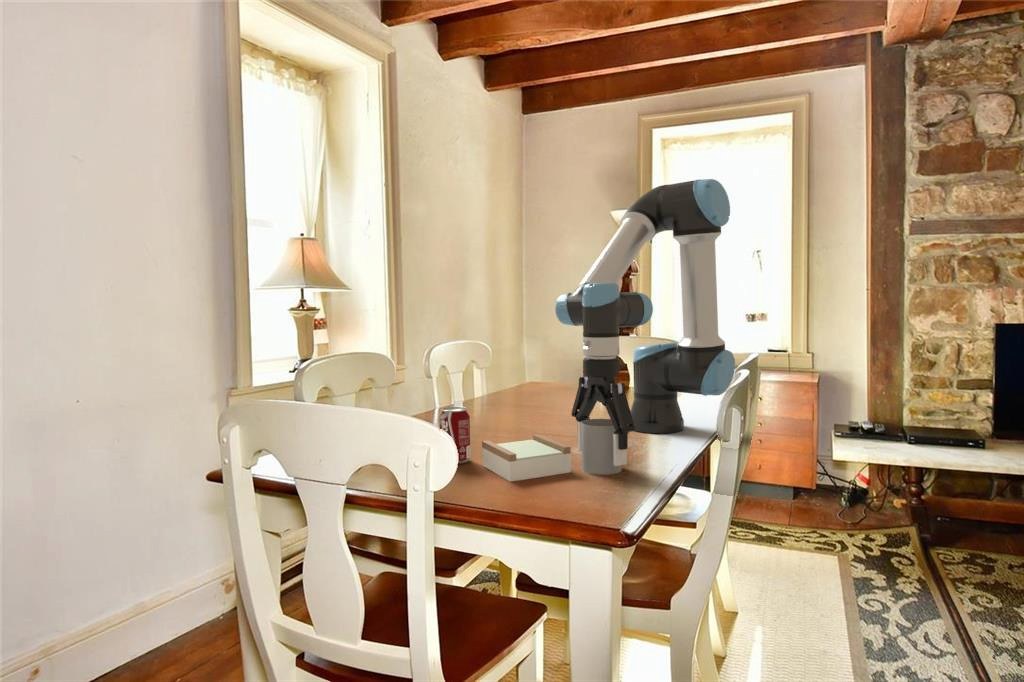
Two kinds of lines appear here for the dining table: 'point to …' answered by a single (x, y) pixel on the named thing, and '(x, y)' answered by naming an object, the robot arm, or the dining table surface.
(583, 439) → the cup
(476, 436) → the dining table surface
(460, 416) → the soda can
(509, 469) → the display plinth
